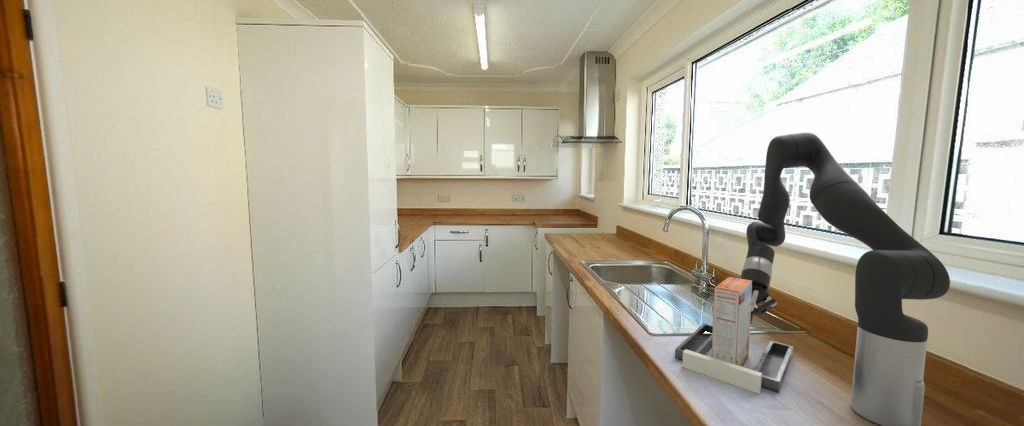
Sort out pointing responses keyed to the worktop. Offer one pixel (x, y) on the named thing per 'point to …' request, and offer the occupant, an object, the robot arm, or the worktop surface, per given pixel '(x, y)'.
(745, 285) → the cracker box
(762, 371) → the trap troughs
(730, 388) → the worktop surface
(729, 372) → the bar
